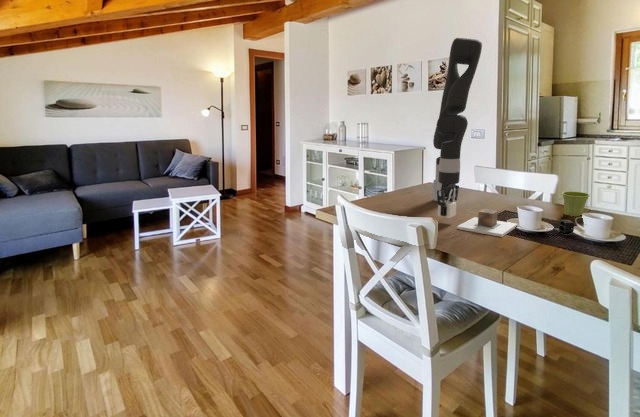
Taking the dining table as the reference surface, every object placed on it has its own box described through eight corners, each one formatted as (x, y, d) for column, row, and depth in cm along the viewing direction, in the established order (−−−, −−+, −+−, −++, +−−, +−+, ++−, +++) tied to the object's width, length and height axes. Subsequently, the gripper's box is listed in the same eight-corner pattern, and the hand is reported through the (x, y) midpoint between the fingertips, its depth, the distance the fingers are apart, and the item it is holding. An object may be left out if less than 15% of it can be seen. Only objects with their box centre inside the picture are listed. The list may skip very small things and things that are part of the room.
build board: (457, 228, 153) (457, 225, 153) (474, 219, 164) (474, 216, 164) (502, 237, 142) (502, 233, 142) (517, 226, 154) (517, 223, 154)
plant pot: (591, 218, 163) (594, 196, 161) (564, 217, 164) (567, 196, 162) (581, 212, 172) (583, 191, 169) (556, 211, 173) (558, 191, 171)
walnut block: (477, 224, 153) (478, 211, 152) (483, 221, 157) (483, 208, 155) (491, 227, 150) (492, 213, 149) (496, 224, 153) (497, 210, 152)
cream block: (437, 215, 160) (438, 202, 159) (443, 212, 164) (444, 200, 162) (449, 217, 157) (450, 204, 155) (455, 215, 160) (456, 202, 159)
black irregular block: (547, 228, 153) (548, 216, 151) (567, 228, 152) (569, 216, 151) (563, 239, 140) (565, 226, 139) (586, 239, 140) (588, 226, 139)
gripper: (450, 173, 148) (447, 220, 152) (467, 168, 158) (464, 211, 163) (430, 171, 153) (428, 216, 157) (448, 166, 163) (446, 208, 168)
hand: (446, 213), depth 160 cm, fingers closed on cream block, 5 cm apart
